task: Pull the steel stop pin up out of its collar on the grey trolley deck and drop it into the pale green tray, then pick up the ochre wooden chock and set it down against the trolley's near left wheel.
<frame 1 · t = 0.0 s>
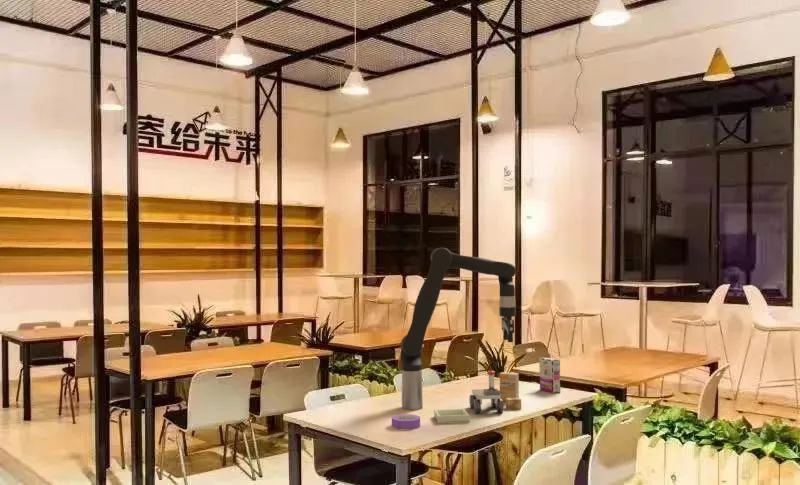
hand: (508, 341, 313), 29 cm above the table, tool pointing down, fingers open, 8 cm apart
candy bar box: (550, 391, 343), on the table
pin: (491, 393, 299), point 8 cm above the table, touching trolley
supplement box: (509, 401, 320), on the table
masking tape: (406, 427, 275), on the table
tray: (451, 419, 285), on the table
chock: (513, 408, 304), on the table
trolley: (486, 410, 301), on the table
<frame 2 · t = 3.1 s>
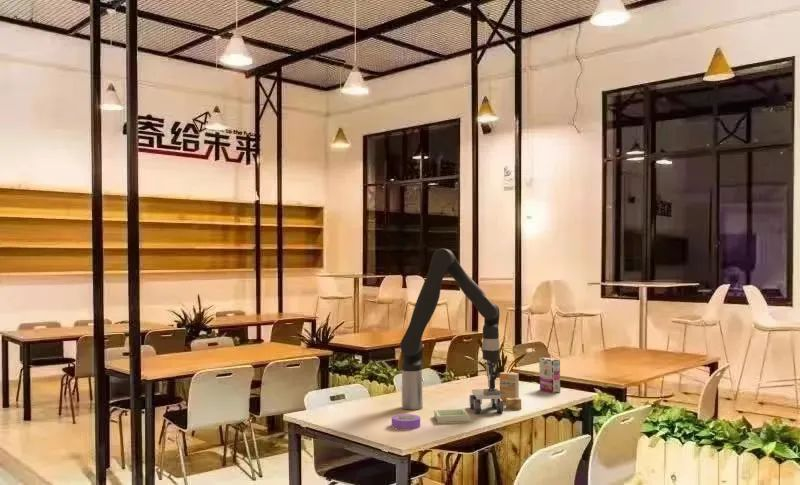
hand: (491, 387, 299), 11 cm above the table, tool pointing down, fingers closed on pin, 2 cm apart
pin: (491, 393, 299), point 8 cm above the table, touching gripper, trolley
everything else where it was.
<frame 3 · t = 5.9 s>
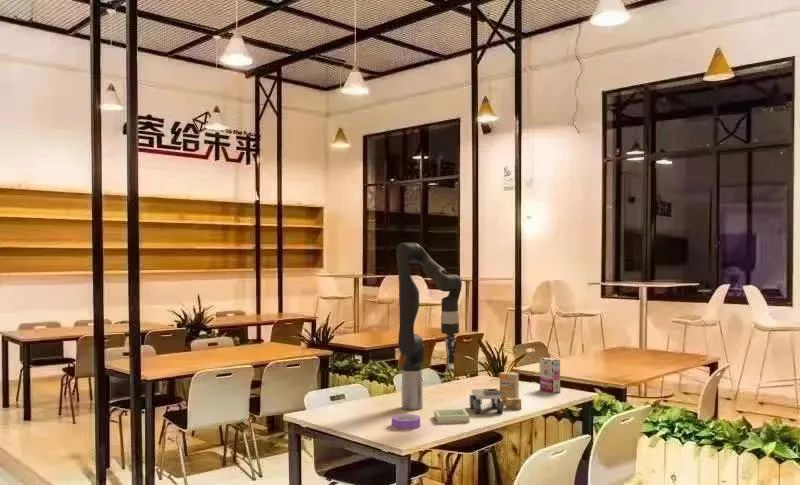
hand: (450, 362, 285), 24 cm above the table, tool pointing down, fingers closed on pin, 2 cm apart
pin: (450, 369, 285), point 21 cm above the table, touching gripper
everything else where it was.
when the fingers open (6 cm above the table, at t = 8.9 s): pin drops 2 cm, resting on tray.
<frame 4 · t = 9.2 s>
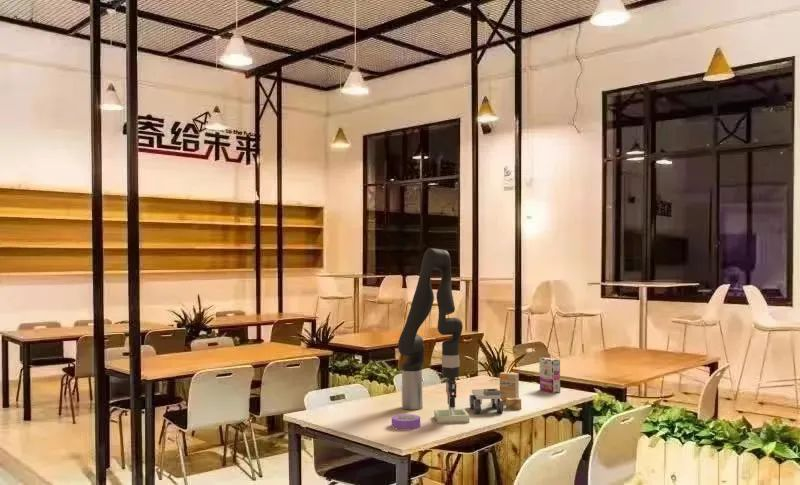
hand: (451, 405, 285), 6 cm above the table, tool pointing down, fingers open, 5 cm apart
pin: (451, 417, 285), point 1 cm above the table, touching tray
everything else where it was.
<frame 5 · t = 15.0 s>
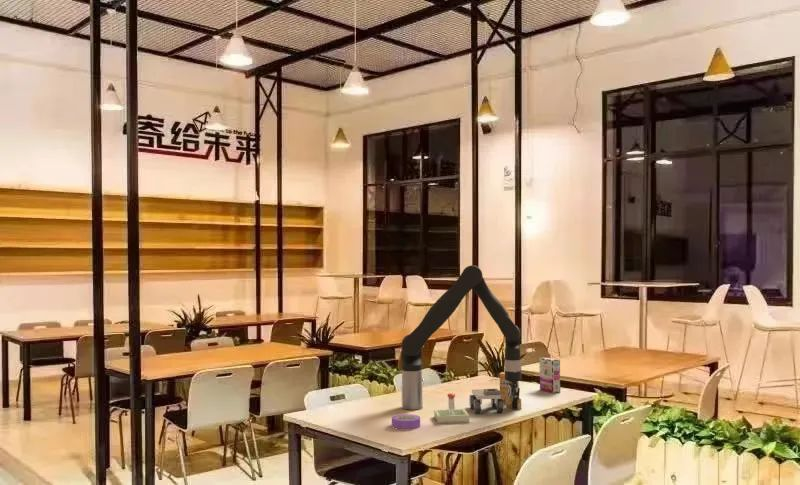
hand: (513, 407, 304), 0 cm above the table, tool pointing down, fingers closed on chock, 4 cm apart
chock: (513, 408, 304), on the table, touching gripper
everything else where it was.
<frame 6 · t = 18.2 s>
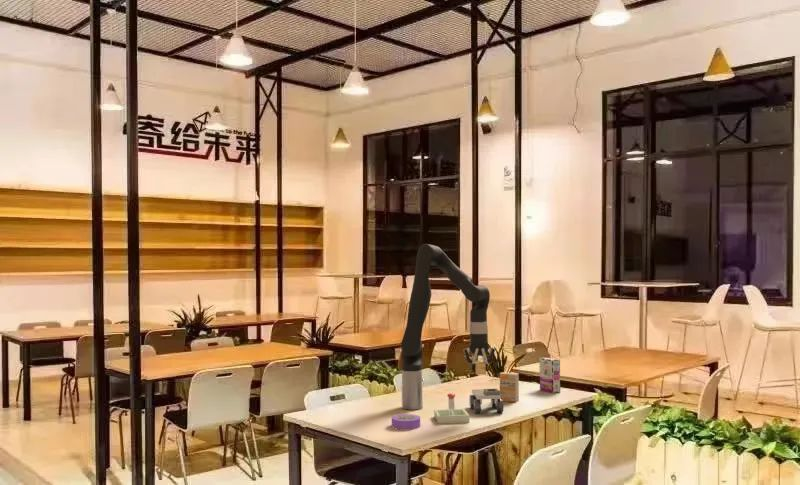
hand: (479, 372, 290), 19 cm above the table, tool pointing down, fingers closed on chock, 4 cm apart
chock: (479, 373, 290), point 19 cm above the table, touching gripper
everything else where it was.
when the fingers open (2 cm above the table, at t = 21.7 s): chock drops 1 cm, on the table.
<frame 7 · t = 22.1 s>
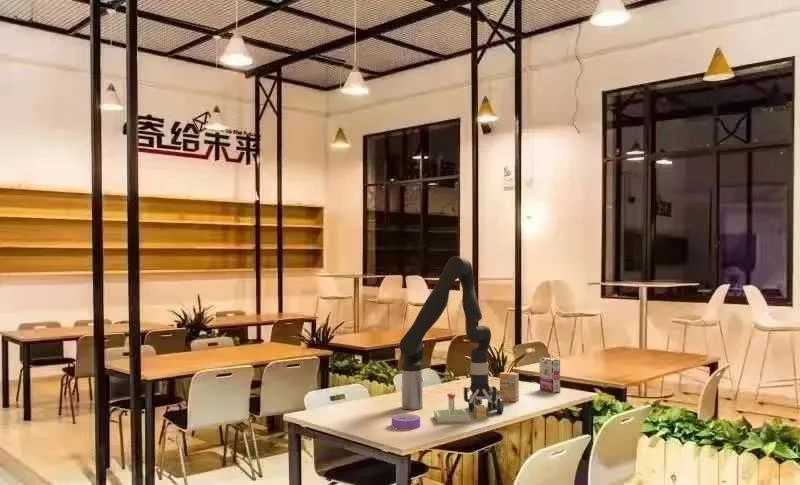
hand: (480, 411, 289), 2 cm above the table, tool pointing down, fingers open, 7 cm apart
chock: (480, 417, 289), on the table
everything else where it was.
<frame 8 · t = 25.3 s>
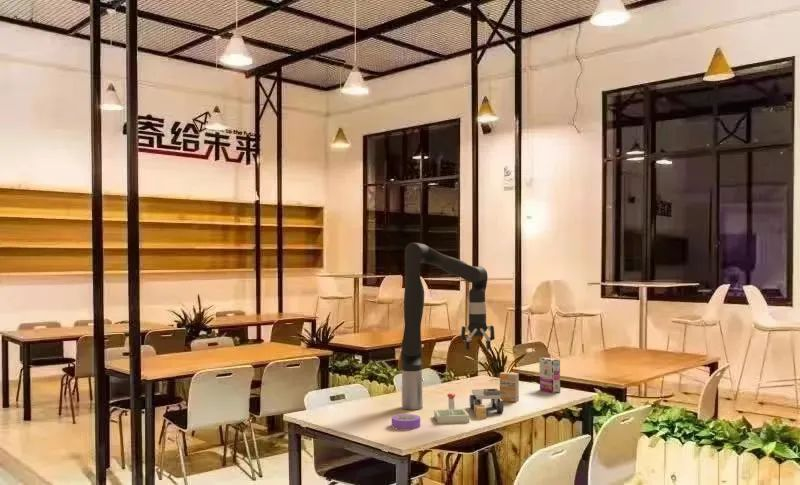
hand: (478, 350, 293), 28 cm above the table, tool pointing down, fingers open, 8 cm apart
nothing on the table moved.
at the end: pin inside the target area on the tray (0.1 cm from its centre), point 0.8 cm above the tray's base; chock 0.1 cm from the target spot, on the table; the gripper is holding nothing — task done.
